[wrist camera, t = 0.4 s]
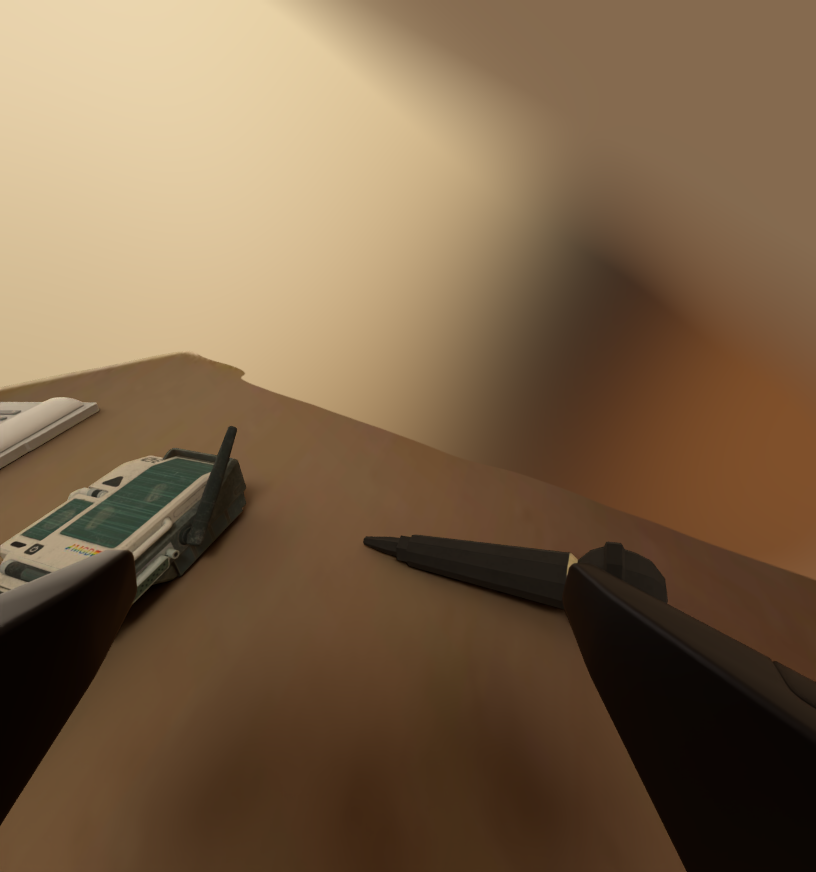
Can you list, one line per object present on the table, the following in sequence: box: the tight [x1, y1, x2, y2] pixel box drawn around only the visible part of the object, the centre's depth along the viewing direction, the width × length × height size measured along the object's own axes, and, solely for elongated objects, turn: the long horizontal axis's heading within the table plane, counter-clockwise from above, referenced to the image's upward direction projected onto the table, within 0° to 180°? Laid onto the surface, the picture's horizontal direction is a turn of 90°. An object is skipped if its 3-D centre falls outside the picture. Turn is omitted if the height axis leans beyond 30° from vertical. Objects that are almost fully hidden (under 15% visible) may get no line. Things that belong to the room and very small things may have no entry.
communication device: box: [0, 426, 246, 604], centre depth 26 cm, size 12×24×9 cm, turn 162°
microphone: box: [363, 535, 668, 610], centre depth 28 cm, size 6×6×20 cm
